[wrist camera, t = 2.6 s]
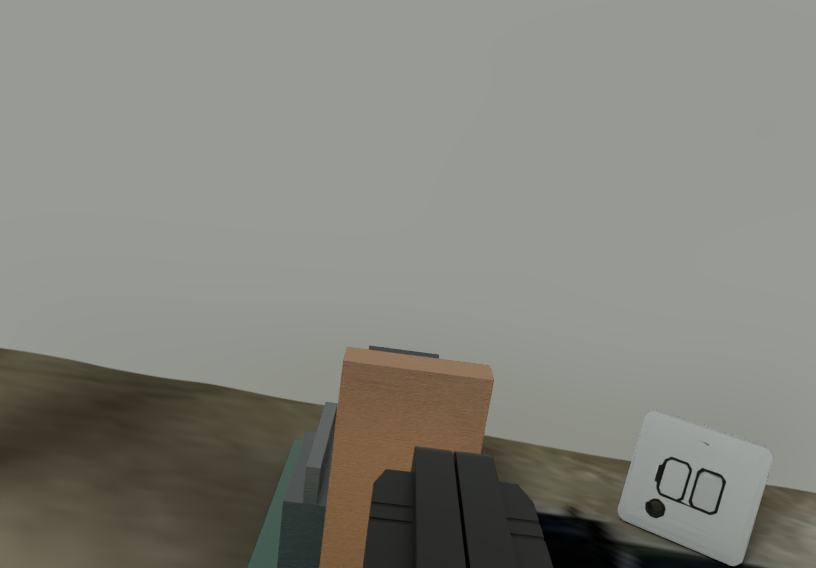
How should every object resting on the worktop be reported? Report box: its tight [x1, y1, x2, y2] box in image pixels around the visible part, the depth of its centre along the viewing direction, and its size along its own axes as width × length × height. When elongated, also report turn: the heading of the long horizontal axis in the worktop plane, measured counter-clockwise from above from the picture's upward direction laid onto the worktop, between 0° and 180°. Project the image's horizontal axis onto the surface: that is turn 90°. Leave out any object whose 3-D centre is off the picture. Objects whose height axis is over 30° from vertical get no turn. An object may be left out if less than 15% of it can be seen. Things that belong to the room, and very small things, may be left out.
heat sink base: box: [247, 346, 439, 568], centre depth 39 cm, size 16×28×13 cm, turn 179°
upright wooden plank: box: [319, 347, 494, 568], centre depth 32 cm, size 6×12×18 cm, turn 179°
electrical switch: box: [618, 409, 773, 566], centre depth 50 cm, size 9×5×9 cm, turn 59°
